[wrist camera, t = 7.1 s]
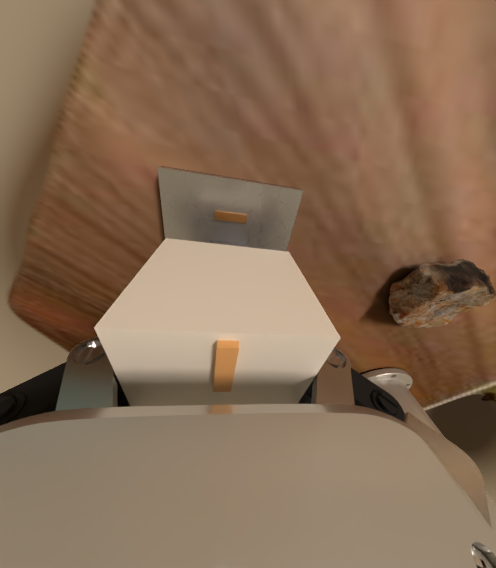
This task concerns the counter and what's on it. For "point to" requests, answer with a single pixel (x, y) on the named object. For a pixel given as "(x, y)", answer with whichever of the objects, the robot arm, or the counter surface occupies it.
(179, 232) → the plate
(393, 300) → the rock
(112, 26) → the counter surface
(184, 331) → the orange-striped white cube
